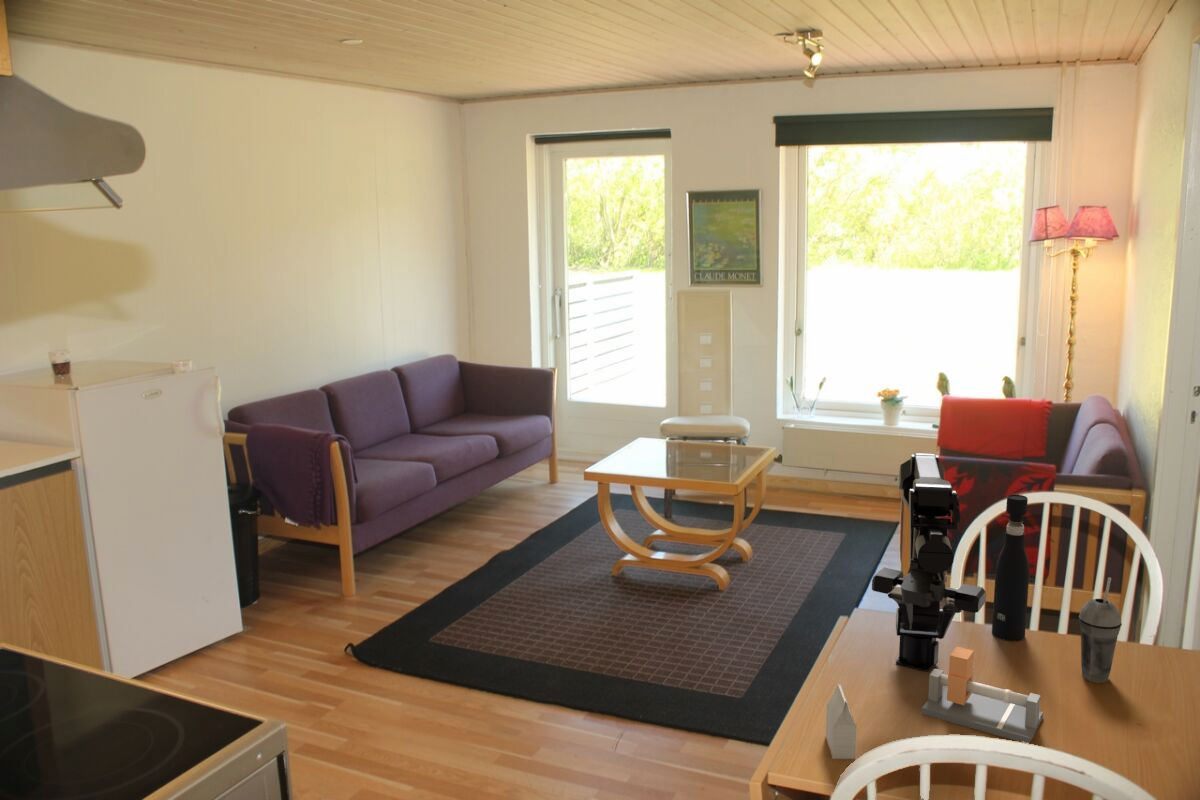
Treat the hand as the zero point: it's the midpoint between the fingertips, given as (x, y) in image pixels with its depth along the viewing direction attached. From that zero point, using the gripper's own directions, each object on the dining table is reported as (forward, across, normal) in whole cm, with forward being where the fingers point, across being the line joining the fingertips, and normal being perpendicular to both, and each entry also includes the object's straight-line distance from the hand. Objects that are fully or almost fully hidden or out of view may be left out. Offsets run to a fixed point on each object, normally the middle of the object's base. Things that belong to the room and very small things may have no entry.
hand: (925, 633), depth 176 cm
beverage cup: (+13, +24, +26) cm, 38 cm away
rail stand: (+13, +10, 0) cm, 17 cm away
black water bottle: (+13, +6, +36) cm, 39 cm away
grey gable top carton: (+13, -7, -23) cm, 27 cm away
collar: (+11, +7, 0) cm, 12 cm away
